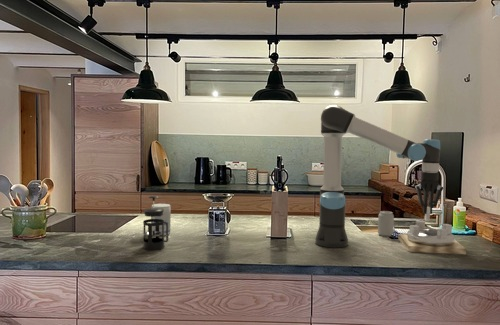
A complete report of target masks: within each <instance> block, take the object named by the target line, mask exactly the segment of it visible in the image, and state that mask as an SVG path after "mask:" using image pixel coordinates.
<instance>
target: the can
mask: <svg viewBox="0 0 500 325" xmlns="http://www.w3.org/2000/svg"><path fill="white" fill-rule="evenodd" d="M377 216H378V219H377V220H378V222H377V234H379V236H381V237H392V236H393V235H394V226H395V225H394V220H395V215H394V214H393V212H392V211H389V210H380V211H379V213H378V215H377ZM392 234H393V235H392ZM391 235H392V236H391Z"/></svg>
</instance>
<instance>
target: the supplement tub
mask: <svg viewBox="0 0 500 325" xmlns="http://www.w3.org/2000/svg"><path fill="white" fill-rule="evenodd" d="M151 208H153V204H151ZM154 208H160V209H164V211H163V215H162V216H156V217H154V219H162V220H164V222H168V235H170V234H171V217H172V216H171V214H172V213H171V212H172V211H171V210H172V209H171V208H172V207H171V204H169V203H154ZM150 219H153V217H150ZM150 223H153V222H150ZM154 223H155V222H154ZM152 231H153V226H152ZM154 231H155V226H154ZM159 231H160V232H162V225H160V226H159ZM164 236H166V223H164Z"/></svg>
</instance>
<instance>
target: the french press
mask: <svg viewBox="0 0 500 325" xmlns="http://www.w3.org/2000/svg"><path fill="white" fill-rule="evenodd" d="M148 198H149V199H152V203H153V204H152V205H153V208H152V207H151V208H146V209H143V210H142V211H143V213H144V217H148V218H149V217H150V218H149V219H144V220H143V223H142V225H143V242H142V243H143V245H142V246H143V247H142V249H143V250H144V251H161V250H163V249H165V248H166V247H165V243H168V242H169V234H168V222H164V220H162V219H154V217H156V216H162V215H163V211H164V209H160V208H154V204H155V199H157V198H159V196H157V195H151V196H148ZM151 217H153V219H151ZM151 222H153V223H151ZM154 222H155V223H154ZM164 223H166V235H164ZM160 225H162V232H160V231H159V226H160ZM152 226H153V231H152ZM154 226H155V231H154ZM146 227H147V231H146ZM165 236H166V237H165ZM146 237H147V238H146ZM161 237H162V238H161ZM165 238H166V240H165Z"/></svg>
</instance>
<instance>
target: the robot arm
mask: <svg viewBox="0 0 500 325" xmlns="http://www.w3.org/2000/svg"><path fill="white" fill-rule="evenodd" d="M355 114H356V113H352V112H350V111H348V110H346V109H345V108H343V107H342V106H340V105H338V104H337V105H336V104H331V105H327V106H326V107H325V108H324V109H323V111H322V113H321V114H320V122H321V123H320V135H321V136H323V173H322V174H323V178H322V180H323V181H322V182H323V185H322V186H321V187H320V188H319V226H318V229H317V232H316V235H315V237H314V240H315V242H314V243H315V245H318V246H321V247H325V248H326V247H327V248H333V249H334V248H336V249H337V248H344V247H347V246H348V245H349V237H348V234H347V232H346V228H345V226H346V225H345V224H346V222H345V221H346V202H347V200H346V196H345V195H344V194H345V189H344V187H343V186H342V153H343V152H342V148H343V147H342V146H343V144H342V142H343V139H342V138H343V136H344V135H345V134H349V133H350V134H351V135H353V136H356V137H358V138H361V139H363V140H365V141H368V142H370V143H372V144H373V145H374V144H375V145H377V146H379V147H382V148H383V149H386V150H388V151H391V152H393V153H396V157H397V158H398V159H409V160H411V161H413V162H417V161H418V162H419V161H421V162H422V164H421V177H420V182H419V184H417V185H415V186H414V188H415V190H416V193H417V199H418V204H419V206H421V207H422V213H423V214H424V220H423V221H424V222H425V221H426V222H430V219H431V215H432V214H433V209H434V207H437V206H438V203H439V199H440V197H441V193H442V191H443V190H444V188H445V187H444V186H441V185H440V183H439V174H440V173H439V172H440V156H441V140H439V139H431V138H426V139H425V138H424V139H423V141H422V142H414V141H413V140H411V139H410V140H409V139H408V138H405V137H403V136H400V135H398V134H395V133H394V132H391V131H389V130H387V129H384V128H382V127H379V126H377V125H374V124H372V123H370V122H368V121H365V120H363V119H361V118H359V117H356V115H355ZM421 189H422V190H423V193H422V190H421ZM435 190H436V192H435ZM434 194H435V195H434Z"/></svg>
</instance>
